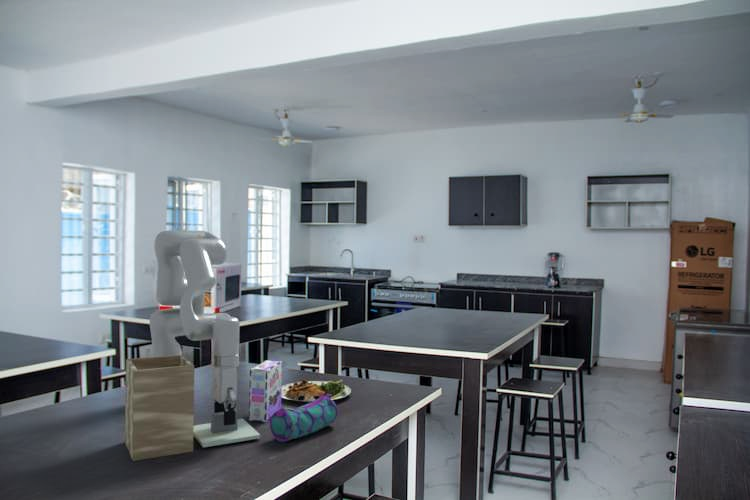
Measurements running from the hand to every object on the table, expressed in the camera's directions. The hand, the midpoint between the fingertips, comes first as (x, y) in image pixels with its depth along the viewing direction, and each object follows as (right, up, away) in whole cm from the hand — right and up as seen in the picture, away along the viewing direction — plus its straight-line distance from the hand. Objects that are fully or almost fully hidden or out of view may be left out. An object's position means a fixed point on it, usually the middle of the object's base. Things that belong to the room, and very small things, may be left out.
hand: (224, 419), depth 168 cm
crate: (-16, -5, -9) cm, 19 cm away
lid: (0, -4, 0) cm, 4 cm away
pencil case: (+22, -6, +5) cm, 24 cm away
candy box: (+8, -5, +20) cm, 22 cm away
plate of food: (+21, -4, +44) cm, 49 cm away
